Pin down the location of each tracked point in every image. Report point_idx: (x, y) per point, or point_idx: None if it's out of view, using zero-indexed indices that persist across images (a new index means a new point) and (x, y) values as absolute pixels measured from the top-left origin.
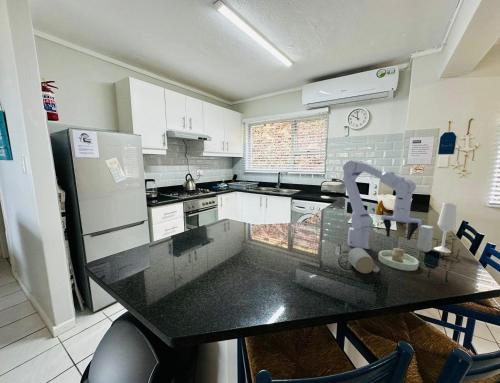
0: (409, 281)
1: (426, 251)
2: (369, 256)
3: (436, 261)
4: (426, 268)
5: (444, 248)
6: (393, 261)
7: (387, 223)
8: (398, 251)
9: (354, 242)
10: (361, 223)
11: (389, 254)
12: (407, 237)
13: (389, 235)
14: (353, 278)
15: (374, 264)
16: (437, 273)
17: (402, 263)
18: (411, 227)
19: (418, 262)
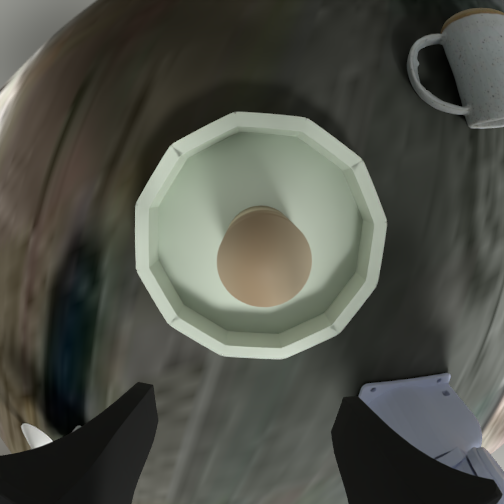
0: (275, 4)
1: (77, 426)
2: (496, 21)
3: (50, 337)
4: (107, 217)
5: (31, 440)
6: (326, 134)
7: (484, 491)
8: (281, 218)
9: (434, 396)
10: (496, 470)
11: (278, 335)
12: (150, 417)
13: (350, 407)
14: None
15: (454, 16)
16: (78, 169)
17: (271, 116)
18: (69, 492)
19: (142, 192)
